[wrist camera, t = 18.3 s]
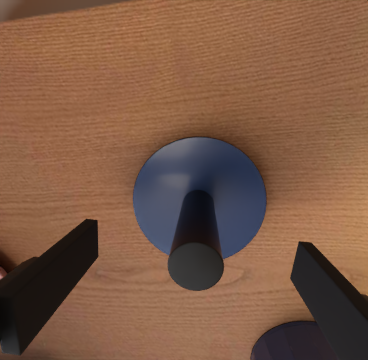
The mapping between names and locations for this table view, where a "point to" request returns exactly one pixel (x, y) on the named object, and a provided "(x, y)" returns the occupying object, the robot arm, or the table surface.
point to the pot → (294, 343)
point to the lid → (199, 206)
